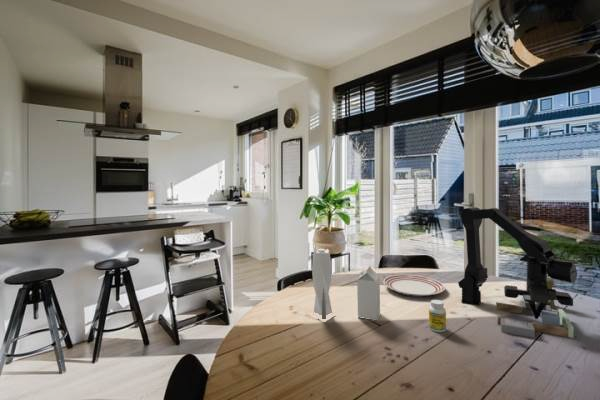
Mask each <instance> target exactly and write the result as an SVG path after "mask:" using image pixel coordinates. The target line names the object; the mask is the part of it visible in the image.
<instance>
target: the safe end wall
mask: <svg viewBox="0 0 600 400" xmlns="http://www.w3.org/2000/svg"><path fill="white" fill-rule="evenodd" d="M558 312H559V317H560V325H561V327H566V328H568V329H569V332H568V337H567V338H572V339H573V338H574V329H575V328H574V326H573V324H572V322H571V321H570V319H569V317H568V316H567V314H566V312H565V311H564V309H562V308H558Z"/></svg>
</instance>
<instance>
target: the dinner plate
mask: <svg viewBox="0 0 600 400" xmlns="http://www.w3.org/2000/svg"><path fill="white" fill-rule="evenodd" d="M382 284H384V286H386V287H387V288H388V289H390V290H392V291H394V292H397V293H398V294H401V293H402V294H401V295H405V294H406V295H405V296H410V295H412V296H411V297H427V296H433V295H438V294H441V293H443V292H444V291H445V290H446V286H445V285H444V284H443V283H442V282H441V281H439V280H436V279H434V278H431V277H427V276H422V275H417V274H416V275H414V274H395V275H394V274H393V275H390V276H387V277H385V278H384V279H383V283H382Z"/></svg>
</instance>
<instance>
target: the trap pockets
mask: <svg viewBox="0 0 600 400" xmlns="http://www.w3.org/2000/svg"><path fill="white" fill-rule="evenodd" d="M519 304H520V305H519V306H522V309H523V310H522V314H523V315H531V316H534V314H533V312H532V309H531V307H530V305H529V303H528V302H525V301H524V300H523V301H522V300H520V303H519ZM523 306H525V308H526V309H524V307H523ZM535 307H537V303H536V302H535ZM524 310H525V312H523V311H524ZM543 310H544V311H548V310H552V308H550V306H549V305H546V306H545V307H544V308H543ZM553 311H554V310H552V311H551V312H553ZM524 313H526V314H524ZM539 317H541V314H540V316H539ZM527 321H528V328H527V326H519V325H514V324H510V323H509V324H508V323H506V320H505V319H504V318H501V325H500V330H501V333H506V334H510V335H512V334H513V335H517V336H522V337H527V338H533V339H534V338H536V337H535V334H536V331H535V330H534V327H533V324H532V322H533V321H529V320H527ZM529 322H530V323H529Z"/></svg>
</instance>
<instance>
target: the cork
mask: <svg viewBox="0 0 600 400" xmlns="http://www.w3.org/2000/svg"><path fill="white" fill-rule="evenodd" d="M554 285H555V282H554V279H552V278H550V277H547V287H548V289H553V287H554ZM535 303H537V302H535ZM550 303H551V305H549V306H550V308H551V309H555V308H556V305H555V300H553V301H552V300H550Z"/></svg>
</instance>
